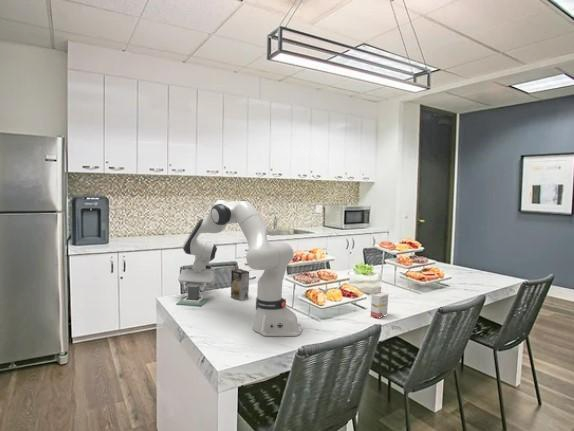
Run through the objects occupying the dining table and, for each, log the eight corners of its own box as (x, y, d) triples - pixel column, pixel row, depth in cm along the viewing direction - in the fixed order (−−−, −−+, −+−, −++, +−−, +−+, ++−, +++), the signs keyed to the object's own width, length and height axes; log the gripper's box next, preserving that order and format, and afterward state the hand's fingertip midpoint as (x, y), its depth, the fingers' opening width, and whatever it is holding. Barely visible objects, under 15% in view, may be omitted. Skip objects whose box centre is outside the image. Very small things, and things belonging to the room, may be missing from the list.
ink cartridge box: (378, 319, 185) (380, 290, 184) (370, 316, 189) (371, 288, 188) (387, 315, 191) (389, 287, 190) (379, 313, 195) (380, 285, 194)
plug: (199, 299, 205) (199, 284, 205) (196, 301, 201) (196, 286, 201) (190, 299, 206) (190, 284, 205) (187, 301, 202) (188, 286, 201)
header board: (209, 298, 210) (209, 295, 210) (201, 306, 196) (201, 303, 196) (186, 297, 211) (186, 294, 211) (176, 304, 197) (176, 301, 197)
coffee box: (230, 297, 214) (230, 270, 212) (238, 295, 218) (239, 268, 217) (240, 301, 207) (241, 273, 206) (249, 298, 212) (249, 271, 211)
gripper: (180, 265, 210) (173, 286, 201) (215, 267, 208) (209, 288, 199) (183, 271, 215) (176, 292, 206) (217, 273, 213) (212, 294, 204)
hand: (193, 290), depth 202 cm, fingers open, 8 cm apart
